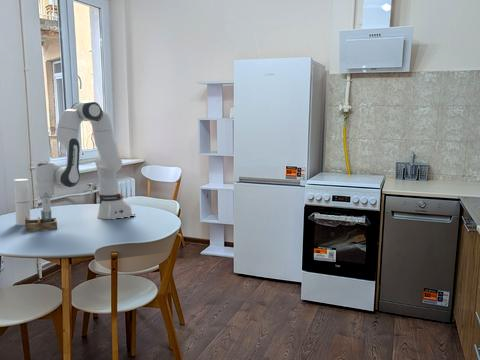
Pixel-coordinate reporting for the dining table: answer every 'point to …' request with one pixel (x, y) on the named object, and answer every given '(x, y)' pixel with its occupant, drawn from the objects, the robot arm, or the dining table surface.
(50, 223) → the brown wooden open box
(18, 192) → the cylindrical container
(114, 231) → the dining table surface
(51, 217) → the jar
